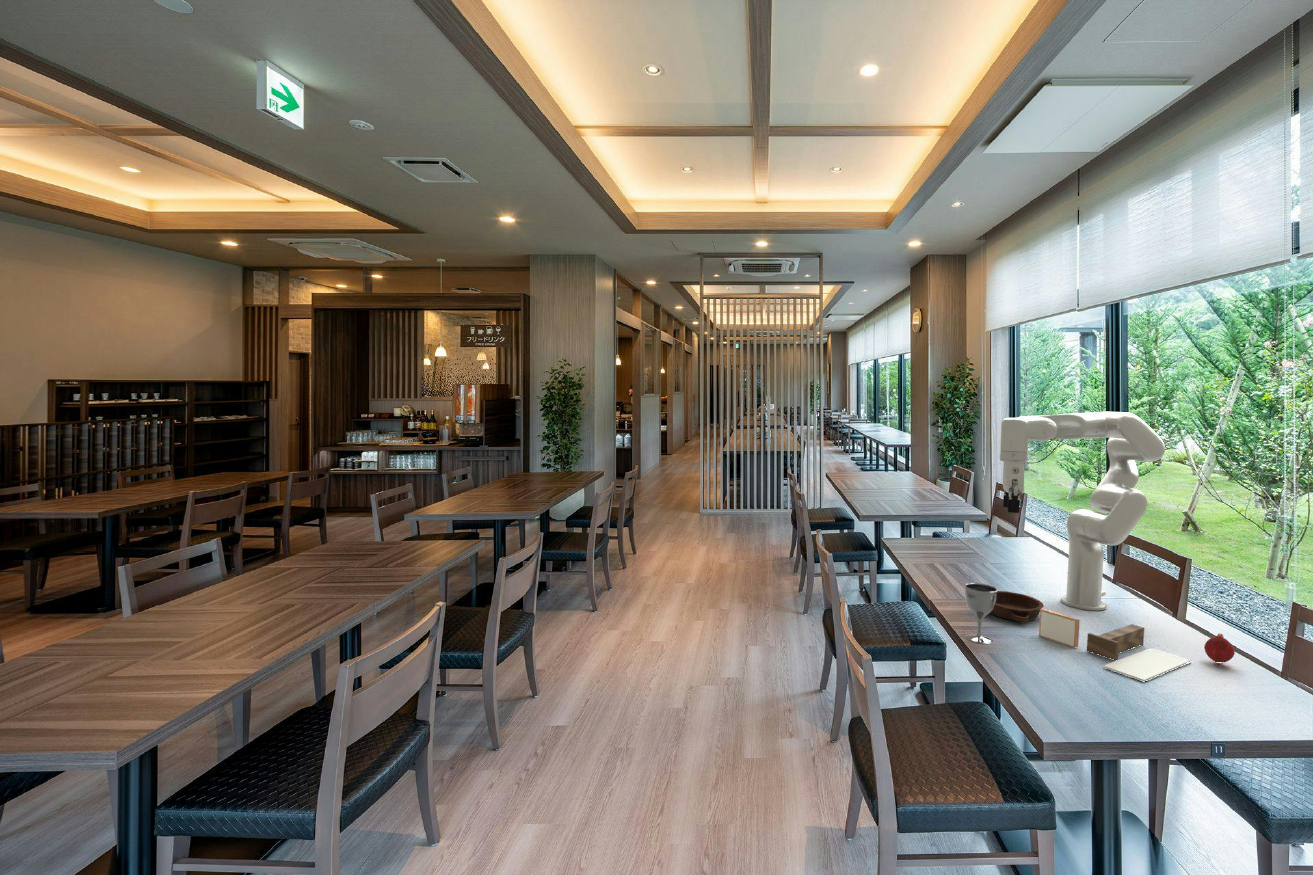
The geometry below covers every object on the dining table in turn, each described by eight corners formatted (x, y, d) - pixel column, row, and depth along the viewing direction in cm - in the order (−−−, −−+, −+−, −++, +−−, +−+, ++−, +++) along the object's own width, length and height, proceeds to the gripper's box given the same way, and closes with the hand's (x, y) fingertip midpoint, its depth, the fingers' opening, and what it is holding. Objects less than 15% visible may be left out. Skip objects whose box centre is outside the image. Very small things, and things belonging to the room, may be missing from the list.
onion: (1235, 670, 160) (1238, 639, 159) (1206, 665, 163) (1208, 634, 162) (1230, 662, 165) (1232, 632, 164) (1201, 657, 168) (1203, 627, 167)
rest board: (1150, 650, 172) (1150, 647, 172) (1190, 663, 164) (1191, 660, 164) (1103, 668, 160) (1103, 665, 160) (1144, 682, 152) (1144, 679, 152)
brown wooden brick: (1123, 638, 180) (1124, 621, 180) (1151, 647, 174) (1152, 629, 174) (1086, 651, 171) (1087, 633, 171) (1115, 661, 165) (1116, 642, 164)
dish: (988, 623, 191) (989, 607, 191) (972, 600, 213) (973, 586, 212) (1053, 629, 187) (1054, 613, 187) (1030, 605, 208) (1031, 590, 208)
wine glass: (982, 646, 173) (985, 593, 172) (957, 636, 181) (959, 585, 179) (1000, 641, 177) (1003, 589, 176) (975, 631, 184) (977, 581, 183)
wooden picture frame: (1041, 635, 182) (1042, 608, 182) (1078, 647, 173) (1079, 619, 173) (1038, 636, 182) (1039, 609, 181) (1075, 648, 173) (1076, 620, 172)
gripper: (1031, 459, 191) (1029, 515, 192) (1022, 454, 207) (1019, 506, 208) (1003, 458, 194) (1001, 513, 195) (996, 453, 210) (994, 504, 211)
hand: (1010, 509), depth 202 cm, fingers open, 9 cm apart
